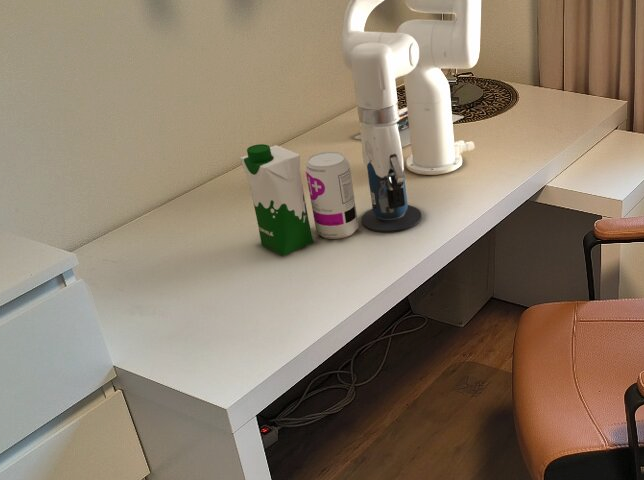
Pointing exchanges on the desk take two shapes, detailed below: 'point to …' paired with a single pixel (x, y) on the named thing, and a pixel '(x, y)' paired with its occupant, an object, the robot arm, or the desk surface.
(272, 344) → the desk surface
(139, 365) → the desk surface
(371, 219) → the coaster
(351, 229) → the supplement can
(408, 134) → the white tray with gadget
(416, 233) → the desk surface
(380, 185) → the soda can
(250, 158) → the soya milk
